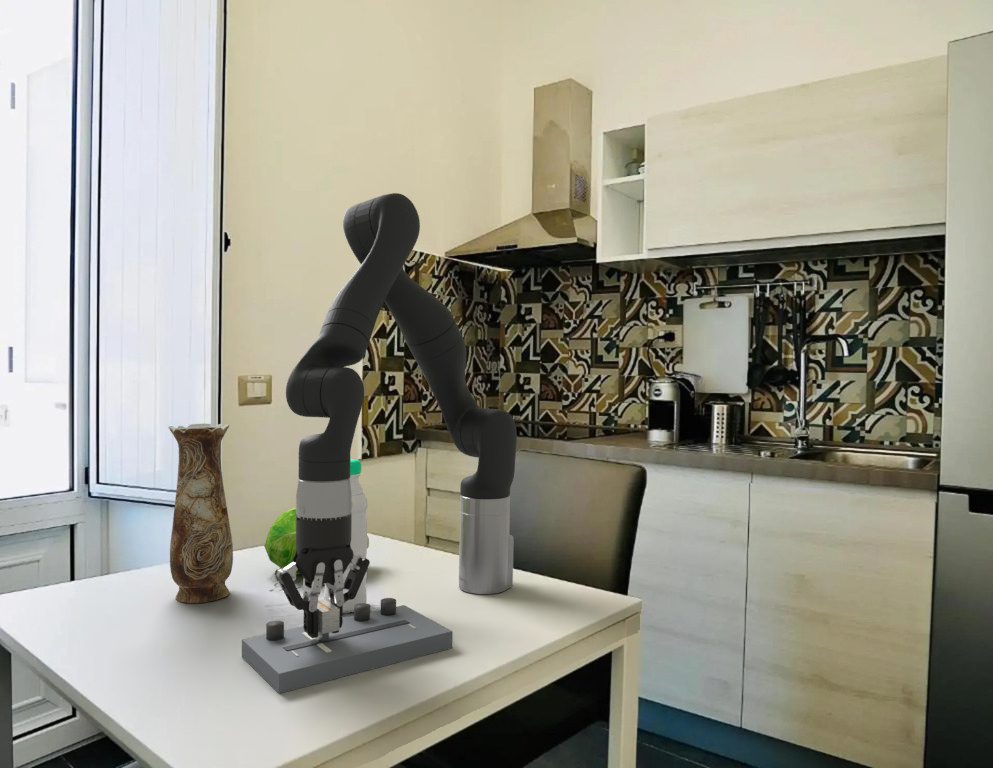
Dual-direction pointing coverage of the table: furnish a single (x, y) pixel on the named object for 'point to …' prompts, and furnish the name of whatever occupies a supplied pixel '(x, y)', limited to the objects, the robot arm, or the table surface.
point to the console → (344, 646)
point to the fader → (327, 619)
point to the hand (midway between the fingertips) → (322, 633)
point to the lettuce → (284, 539)
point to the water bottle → (356, 534)
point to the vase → (200, 517)
